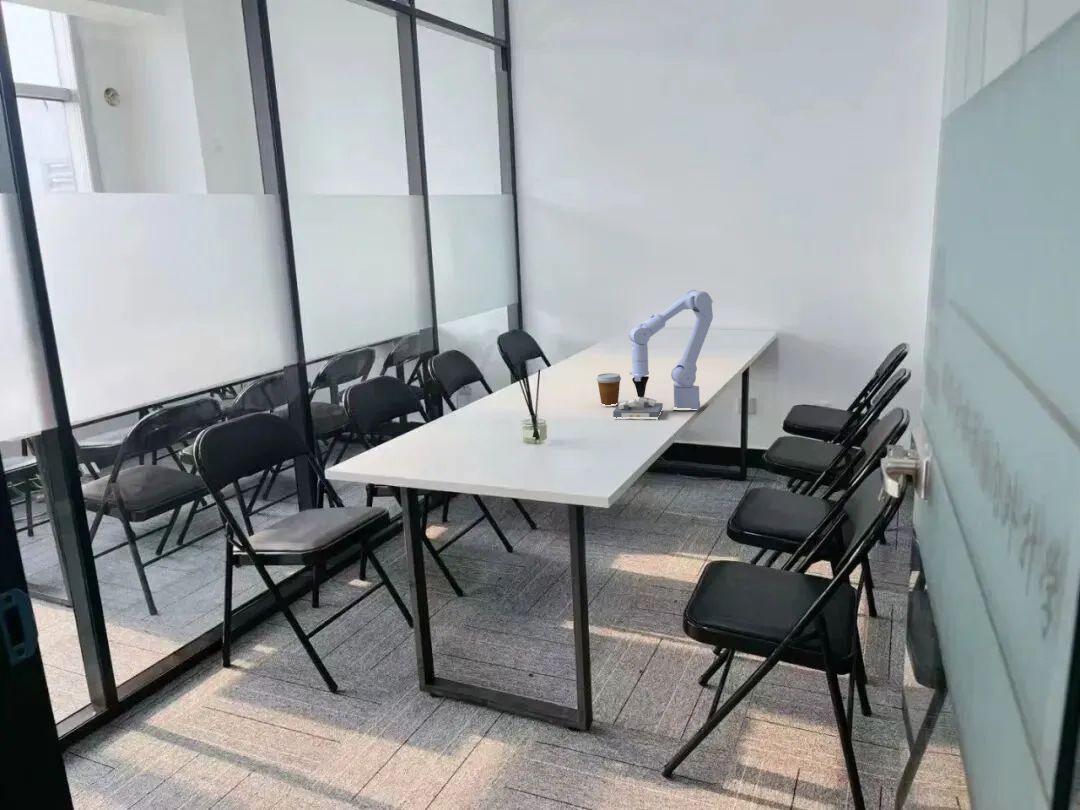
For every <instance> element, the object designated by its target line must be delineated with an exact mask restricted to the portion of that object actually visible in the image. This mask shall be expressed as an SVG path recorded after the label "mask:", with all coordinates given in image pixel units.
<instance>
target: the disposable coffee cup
mask: <svg viewBox="0 0 1080 810" xmlns="http://www.w3.org/2000/svg"><path fill="white" fill-rule="evenodd" d="M621 379H622V377H621V375H620V374H619V373H615V372H607V373H601V374H598V375H597V377H596V381H597V385H598V392H599V398H600V403H602V404H605V405H611V404H616V403H618V404H619V396H620V386H621ZM602 404H601V405H602Z"/></svg>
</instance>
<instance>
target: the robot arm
mask: <svg viewBox="0 0 1080 810" xmlns="http://www.w3.org/2000/svg"><path fill="white" fill-rule="evenodd" d="M712 304H713V299H712V297H711V296H710V294H709V293H708V292H706V291H700V290H696V289H690V290H689V291H687V293H685V294H683V295H681V296H680V298H678V299H677V300H676V301H675V302H674V303H673V304H671V305H670V306H668V307H667V308H666V309H665V310H664V311H662V312H661V313H660V314H659V313H655V314H650V315H649V318H647V319H646V320H645V321H643V322H640V323H639V324H638V326H635V327H633V328H632V329H631V330H630V332H629V334H628V337H629V340H630V341H631V357H632V358H631V362H632V363H631V364H632V367H631V368H632V369H631V370H632V371H629V373H628V374H629V375H631V376H633V377H632V379H631V381H632V383H633V384H634V387H635V391H636V394H637V395H636V396H637V397H638V398H640V397H645V395H646V388H647V383H648V381H649V378H650V377H649V376H648V375H649V374H650V371H649V354H648V353H649V351H648V350H649V349H648V348H649V347H648V343H649V341H650V340H651V339H650V338H651V337H652V336H654V335H655V334H657V333H658V332H659V331H661V329H663V328H665V327H666V322H668V321H669V320H670V319H672V318H673V317H675V316H676V315H678V314H679V313H681V312H683V311H684V310H692V311H693V313H694V315H695V317H696V320H695V323H694V325H693V328H692V331H691V332H690V336H689V339H688V340H687V344H686V346H685V350H684V352H683V355H682V357H681V359H680V360H678V361H677V364H676V365H675V367H674V368H672V371H671V373H670V376H671V380H672V381H674V383H673V407H677V408H691V409H697V411H696V412H699V410H698V409H700V407H699V406H700V405H701V401H700V386H699V385H694V384H695V382H696V378H697V376H696V375H697V369H698V368H697V360H698V358H699V355H700V353H701V350H702V348H703V346H704V345H703V344H704V342H705V340H706V337H707V335H708V332H709V328H710V327H711V324H712V322H713V319H714V315H713V313H714V312H713V306H712Z"/></svg>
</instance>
